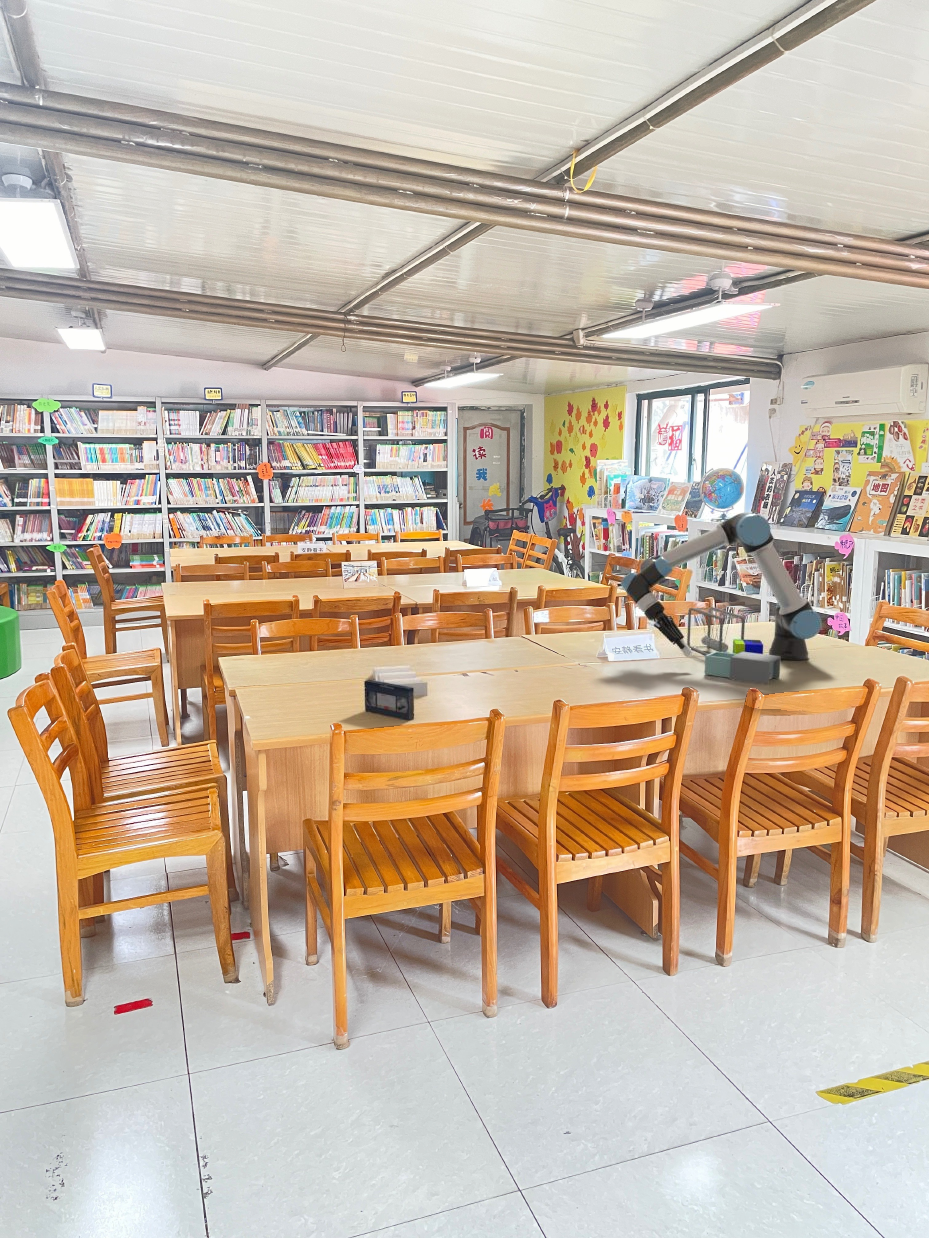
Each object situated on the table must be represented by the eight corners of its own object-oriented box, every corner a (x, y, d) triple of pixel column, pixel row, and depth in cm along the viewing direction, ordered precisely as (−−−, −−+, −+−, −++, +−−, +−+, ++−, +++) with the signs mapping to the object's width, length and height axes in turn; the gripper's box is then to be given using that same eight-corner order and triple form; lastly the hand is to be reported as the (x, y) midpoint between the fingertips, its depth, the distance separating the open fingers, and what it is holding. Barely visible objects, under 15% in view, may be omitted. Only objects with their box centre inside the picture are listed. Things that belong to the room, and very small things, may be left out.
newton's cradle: (743, 660, 351) (745, 617, 348) (719, 661, 349) (721, 617, 347) (709, 646, 380) (710, 606, 378) (686, 647, 378) (688, 606, 376)
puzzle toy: (761, 670, 333) (763, 644, 332) (734, 669, 335) (735, 643, 334) (758, 665, 343) (760, 640, 342) (732, 664, 345) (733, 639, 344)
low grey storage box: (729, 679, 319) (730, 657, 318) (741, 673, 329) (742, 651, 327) (768, 684, 311) (769, 661, 309) (779, 678, 320) (780, 656, 319)
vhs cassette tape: (364, 711, 276) (363, 680, 274) (370, 709, 278) (370, 678, 276) (408, 721, 264) (407, 689, 263) (414, 719, 267) (414, 687, 265)
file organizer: (407, 674, 329) (406, 661, 328) (427, 697, 295) (427, 682, 295) (372, 676, 325) (372, 663, 325) (389, 699, 292) (388, 684, 291)
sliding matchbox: (704, 674, 326) (705, 655, 325) (714, 669, 334) (715, 651, 332) (763, 682, 313) (764, 663, 312) (772, 677, 320) (773, 658, 319)
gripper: (651, 611, 347) (690, 657, 340) (637, 615, 337) (676, 663, 330) (665, 599, 343) (703, 645, 336) (650, 602, 333) (690, 651, 326)
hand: (690, 654), depth 333 cm, fingers closed
